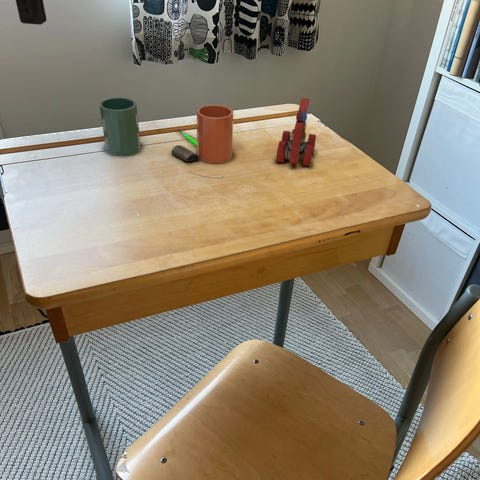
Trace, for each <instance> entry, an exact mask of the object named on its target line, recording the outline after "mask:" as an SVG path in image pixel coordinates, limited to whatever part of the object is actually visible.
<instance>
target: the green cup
mask: <svg viewBox="0 0 480 480" xmlns="http://www.w3.org/2000/svg"><path fill="white" fill-rule="evenodd" d="M98 105H99V114H100V119H101V120H100V121H101V128H102V134H103V142H104V149H105V151H106V153H108V154H110V155H113V156H118V157H126V156H131V155H134V154H137V153H139V151H140V150H141V138H140V137H141V136H140V127H139V126H140V125H139V115H138V105H137V102H136V100H133V99H132V98H128V97H120V96H119V97H109V98H105V99H103V100H101V101H100V102H99V103H98Z"/></svg>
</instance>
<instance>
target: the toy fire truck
mask: <svg viewBox="0 0 480 480" xmlns="http://www.w3.org/2000/svg"><path fill="white" fill-rule="evenodd" d="M309 103H310V99H309V98H306V97H302V98H301V99H300V102H299V107H298V110H297V113H296V116H295V119H296V121H295V125H294V128H293V129H292V131H290V130H283V131H282V135H281V140H279V142H278V145H277V150H276V151H277V152H276V162H277V163H285V160H289V163H290V164H294V165H298V162H299V159H300V158H302V165H303V166H306V167H309V166H311V162H312V159H313V158H312V156H313V155H314V152H315V146H316V140H317V135H316V134H313V133H310V134H308V138H307V132H306V129H307V120H308V109H309ZM306 138H307V141H305V140H306Z"/></svg>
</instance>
